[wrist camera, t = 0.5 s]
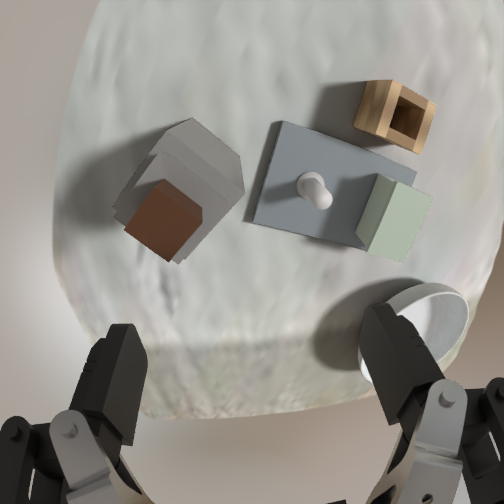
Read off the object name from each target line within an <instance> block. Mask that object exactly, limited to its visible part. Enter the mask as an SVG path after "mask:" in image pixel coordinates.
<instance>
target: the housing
mask: <svg viewBox="0 0 504 504" xmlns="http://www.w3.org/2000/svg"><path fill="white" fill-rule="evenodd" d="M432 200H433V197H432V196H430V195H428V194H425V193H423V192H421V191H419V190H417V189H414V188H413V187H411V186H409V185H407V184H404V183H402V182H400V181H397V180H395V179H392V178H390V177H388V176H385V175H383V174H380V173H379V174H378V177H377V180H376V182H375V185H374V187H373V190H372V192H371V195H370V198H369V200H368V203H367V205H366V207H365V210H364V212H363V215H362V217H361V220H360V222H359V224H358V227H357V229H356V231H355V233H356V234H357V236H358V237H359V238H360V239H361V241H362V242H363V243H364V244H365V246H366V249H365V252H366V253H368V254H372V255H376V256H380V257H384V258H388V259H392V260H396V261H399V262H404V260H405V258H406V257H407V255H408V253H409V251H410V249H411V247H412V244H413V242H414V240H415V238H416V236H417V234H418V232H419V230H420V228H421V225H422V223H423V221H424V219H425V217H426V214H427V212H428V210H429V208H430V205H431V203H432Z"/></svg>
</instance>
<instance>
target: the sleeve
mask: <svg viewBox="0 0 504 504" xmlns="http://www.w3.org/2000/svg"><path fill="white" fill-rule="evenodd" d="M396 105H397V106H398V107H397V110H396V113H395V116H394V119H393V122H392V125H391V128H390V127H389V126H390V123H391V120H392V117H393V114H394V110H395V107H396ZM436 106H437V105H435V104H434V103H432V102H430V101H429V100H427V99H425V98H424V97H422V96H421V95H419V94H417V93H415V92H414V91H412V90H410V89H408V88H407V87H405V86H403V85H401V84H399V83H398V82H396V81H394V80H372V81H367V83H366V86H365V90H364V93H363V96H362V99H361V102H360V106H359V109H358V112H357V115H356V118H355V121H354V124H353V127H355V128H357V129H360V130H362V131H365V132H367V133H369V134H372V135H374V136H376V137H379V138H381V139H383V140H385V141H387V142H390V143H392V144H394V145H397V146H399V147H402V148H404V149H407V150H409V151H412V152H414V153H417V154H419V155H421V152H422V149H423V147H424V144H425V141H426V138H427V135H428V132H429V129H430V126H431V122H432V119H433V116H434V113H435V109H436Z"/></svg>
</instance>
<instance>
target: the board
mask: <svg viewBox="0 0 504 504" xmlns="http://www.w3.org/2000/svg"><path fill="white" fill-rule="evenodd" d="M379 173H380V174H383V175H385V176H388V177H390V178H392V179H395V180H397V181H400V182H402V183H404V184H407V185H409V186H411V187H412V184H413V182H414V179H415V177H416V174H417V172H416V171H414V170H412V169H410V168H407V167H405V166H403V165H401V164H399V163H396V162H394V161H392V160H390V159H387V158H385V157H383V156H380V155H378V154H376V153H373V152H371V151H368V150H366V149H363V148H361V147H358V146H356V145H353V144H350V143H348V142H345V141H342V140H340V139H337V138H334V137H331V136H329V135H326V134H323V133H320V132H317V131H314V130H311V129H308V128H305V127H302V126H298V125H295V124H292V123H289V122H285V121H282V122H281V125H280V128H279V131H278V135H277V138H276V141H275V145H274V148H273V151H272V154H271V158H270V161H269V164H268V168H267V171H266V174H265V178H264V181H263V184H262V188H261V191H260V194H259V198H258V201H257V204H256V208H255V211H254V215H253V218H252V220H253V223H257V224H261V225H265V226H270V227H274V228H278V229H283V230H287V231H291V232H295V233H300V234H304V235H308V236H312V237H316V238H320V239H325V240H329V241H333V242H337V243H341V244H345V245H349V246H353V247H357V248H361V249H366V246H365V244H364V243H363V242H362V241H361V239H360V238H359V237H358V236H357V234H356V233H355V231H356V229H357V227H358V224H359V222H360V220H361V217H362V215H363V212H364V210H365V207H366V205H367V203H368V200H369V198H370V195H371V192H372V190H373V187H374V185H375V182H376V180H377V177H378V174H379Z"/></svg>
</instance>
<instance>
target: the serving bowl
mask: <svg viewBox="0 0 504 504" xmlns="http://www.w3.org/2000/svg"><path fill="white" fill-rule="evenodd" d="M386 303H389V304H390V305H391V307H392V308H393V310H394V311H395V313H396V315H397V316H398V315H403V316H404V317H405V318H407V319H408V320H409V321H410V322H412V323H413V324H414V326H415V328H416V329H417V331H418V332H419V334H420V335H419V336H421V337H422V339H423V341H424V342H425V345H426V346H427V347H428V349H429V351H430V352H431V354H432V356H433V358H434V359H435V361H436V363H438V362H439V361H440V360H441V359H442V358H444V357H445V356H446V355H447V354H448V353H449V352H450V350H451V349H452V348H453V347H454V346H455V344H456V343H457V342H458V340H459V339H460V337H461V335H462V334H463V332H464V330H465V327H466V325H467V321H468V317H469V307H468V303H467V301H466V299H465V298H464V297H463V296H462V295H461V294H460V293H459V292H457V291H456V290H455V289H453V288H451V287H449V286H446V285H443V284H439V283H425V284H420V285H416V286H413V287H410V288H408V289H406V290H403V291H402V292H400V293H398V294H396V295H395V296H393V297H392V298H391V299H389V300H388V301H387V302H386ZM358 361H359V367H360V371H361V374H362V376H363V377H364V378H365V379H366V380H367V381H369V382H371V383H373V382H372V380H371V377H370V374H369V372H368V370H367V367H366V365H365V362H364V360H363V357H362V355H361V352H360V349H359V347H358Z"/></svg>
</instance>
